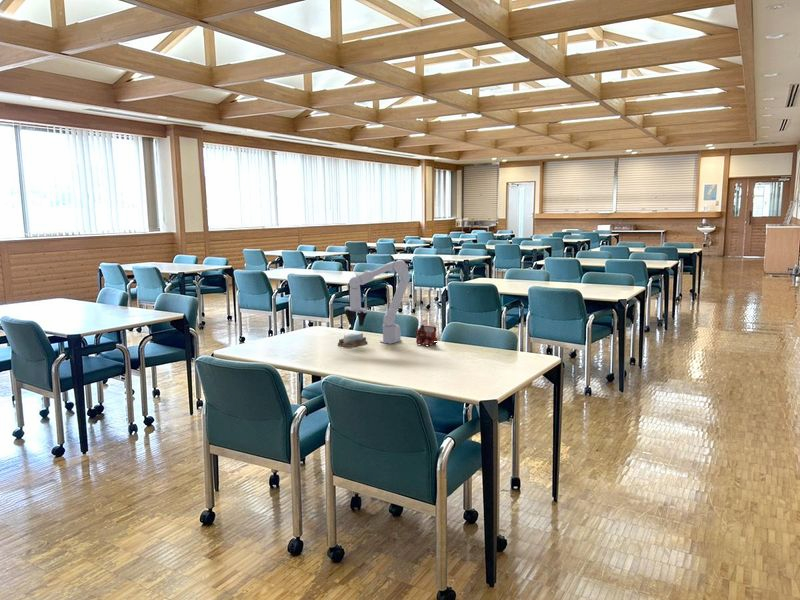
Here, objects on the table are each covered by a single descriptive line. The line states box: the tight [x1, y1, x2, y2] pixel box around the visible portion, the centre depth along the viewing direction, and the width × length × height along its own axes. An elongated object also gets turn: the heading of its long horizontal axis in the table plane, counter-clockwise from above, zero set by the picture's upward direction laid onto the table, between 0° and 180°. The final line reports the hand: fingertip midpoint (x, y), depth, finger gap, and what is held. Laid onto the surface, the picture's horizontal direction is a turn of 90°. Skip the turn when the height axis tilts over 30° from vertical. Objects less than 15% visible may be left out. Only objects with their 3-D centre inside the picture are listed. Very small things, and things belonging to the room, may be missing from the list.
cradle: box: [337, 336, 368, 348], centre depth 309 cm, size 12×10×3 cm
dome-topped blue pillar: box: [342, 331, 364, 344], centre depth 309 cm, size 12×4×4 cm, turn 140°
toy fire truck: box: [415, 324, 438, 347], centre depth 305 cm, size 7×12×10 cm, turn 48°
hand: (356, 324), depth 313 cm, fingers open, 7 cm apart
